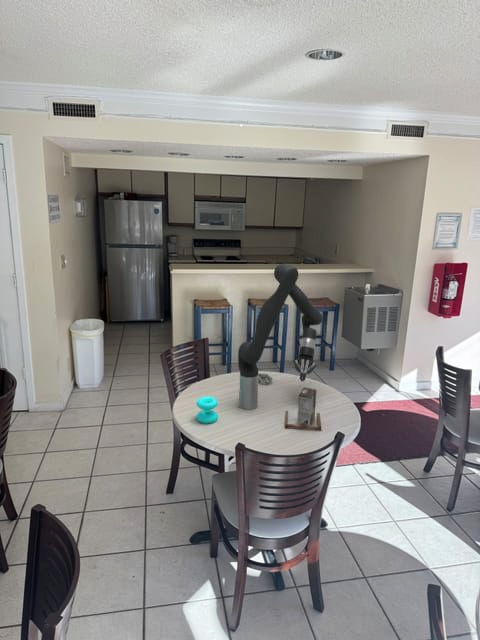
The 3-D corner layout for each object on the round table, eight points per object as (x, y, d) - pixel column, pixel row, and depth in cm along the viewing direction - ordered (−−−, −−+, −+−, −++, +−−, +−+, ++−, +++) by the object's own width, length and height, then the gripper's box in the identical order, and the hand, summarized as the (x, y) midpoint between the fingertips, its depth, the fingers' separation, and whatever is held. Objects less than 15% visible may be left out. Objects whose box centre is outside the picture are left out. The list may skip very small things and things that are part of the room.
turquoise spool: (192, 401, 203) (204, 393, 212) (192, 421, 206) (204, 412, 214) (210, 406, 198) (221, 398, 207) (210, 426, 201) (221, 417, 209)
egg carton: (273, 385, 249) (273, 378, 248) (260, 385, 247) (260, 379, 246) (268, 377, 259) (268, 371, 258) (256, 378, 257) (256, 372, 256)
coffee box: (301, 417, 210) (303, 386, 206) (315, 420, 208) (316, 389, 204) (296, 426, 202) (298, 394, 198) (310, 429, 200) (312, 396, 195)
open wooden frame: (284, 428, 200) (285, 424, 200) (285, 414, 214) (285, 410, 213) (321, 430, 198) (321, 427, 198) (319, 416, 212) (319, 413, 211)
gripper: (294, 343, 221) (289, 376, 215) (320, 348, 219) (316, 381, 213) (294, 348, 228) (288, 380, 222) (319, 352, 226) (314, 384, 220)
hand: (302, 380), depth 218 cm, fingers closed
